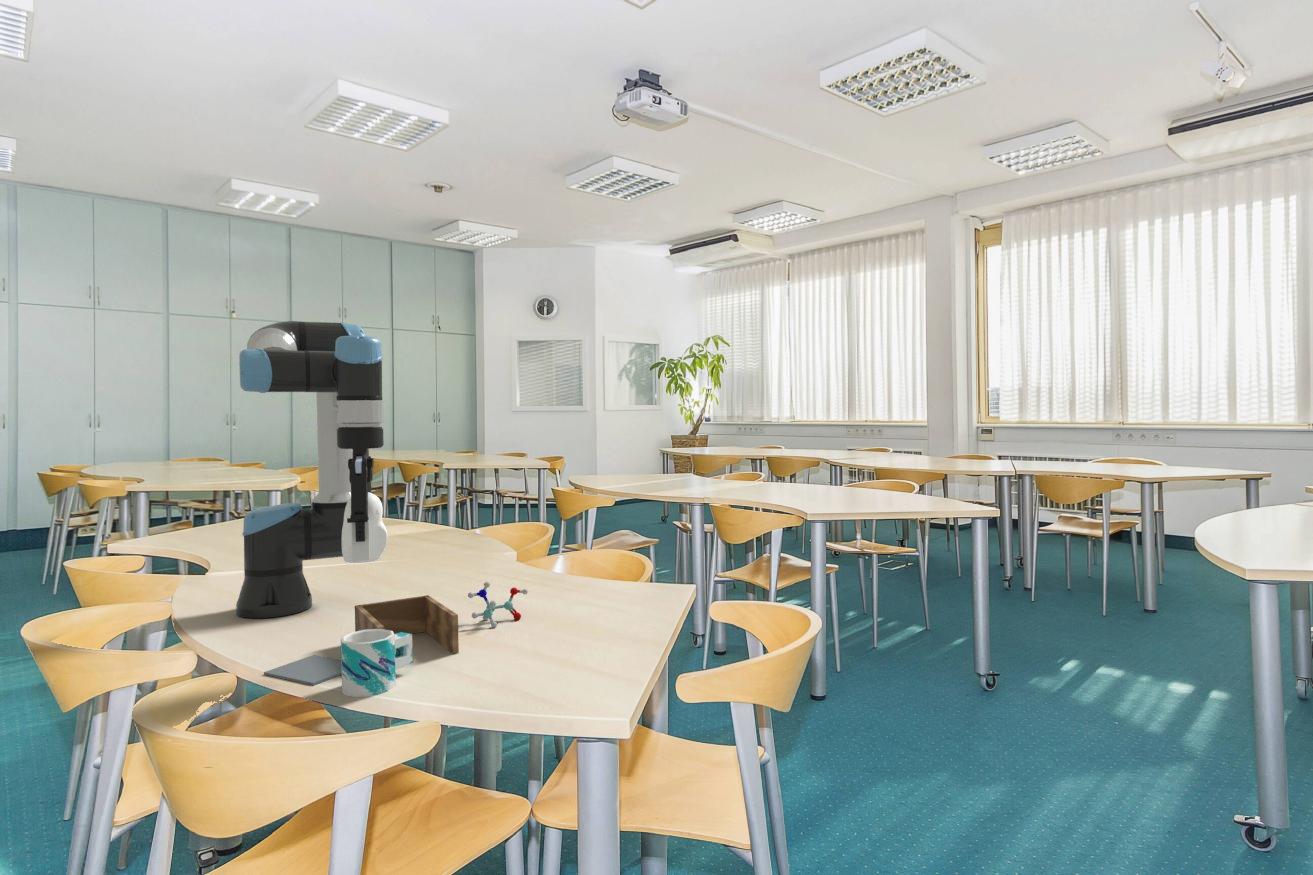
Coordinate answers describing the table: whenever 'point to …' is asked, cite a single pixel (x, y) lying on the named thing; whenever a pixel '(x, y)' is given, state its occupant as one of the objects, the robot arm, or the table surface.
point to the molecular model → (491, 605)
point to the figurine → (376, 531)
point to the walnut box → (411, 619)
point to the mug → (373, 660)
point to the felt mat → (308, 670)
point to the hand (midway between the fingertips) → (362, 555)
